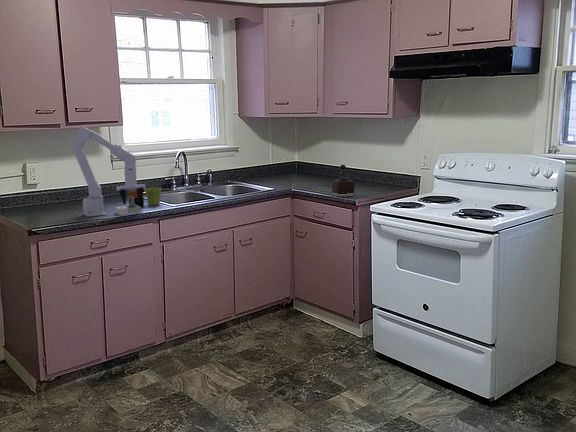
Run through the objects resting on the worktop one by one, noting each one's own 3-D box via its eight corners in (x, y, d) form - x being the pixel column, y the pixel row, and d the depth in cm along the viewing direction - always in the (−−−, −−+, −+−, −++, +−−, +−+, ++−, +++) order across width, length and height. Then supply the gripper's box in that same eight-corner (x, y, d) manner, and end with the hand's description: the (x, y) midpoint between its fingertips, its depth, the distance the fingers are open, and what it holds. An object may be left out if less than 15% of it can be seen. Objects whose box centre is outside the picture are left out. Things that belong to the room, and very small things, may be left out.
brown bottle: (355, 196, 352) (356, 167, 348) (339, 197, 348) (339, 167, 344) (343, 192, 366) (344, 164, 362) (327, 193, 362) (328, 164, 358)
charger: (120, 215, 295) (120, 208, 294) (115, 212, 301) (114, 206, 301) (142, 212, 301) (142, 206, 300) (136, 210, 308) (136, 204, 307)
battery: (129, 207, 316) (128, 189, 314) (142, 206, 319) (141, 188, 317) (131, 208, 312) (130, 190, 310) (144, 207, 316) (143, 189, 314)
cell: (130, 212, 300) (129, 197, 298) (128, 211, 303) (127, 196, 301) (136, 211, 302) (135, 197, 300) (134, 210, 304) (133, 196, 303)
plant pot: (149, 202, 330) (148, 187, 328) (165, 203, 328) (164, 188, 326) (142, 205, 321) (141, 190, 319) (158, 206, 319) (158, 190, 317)
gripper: (119, 179, 291) (120, 205, 294) (147, 176, 300) (148, 203, 302) (114, 177, 297) (116, 203, 300) (141, 175, 305) (143, 201, 308)
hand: (131, 203), depth 301 cm, fingers open, 7 cm apart
